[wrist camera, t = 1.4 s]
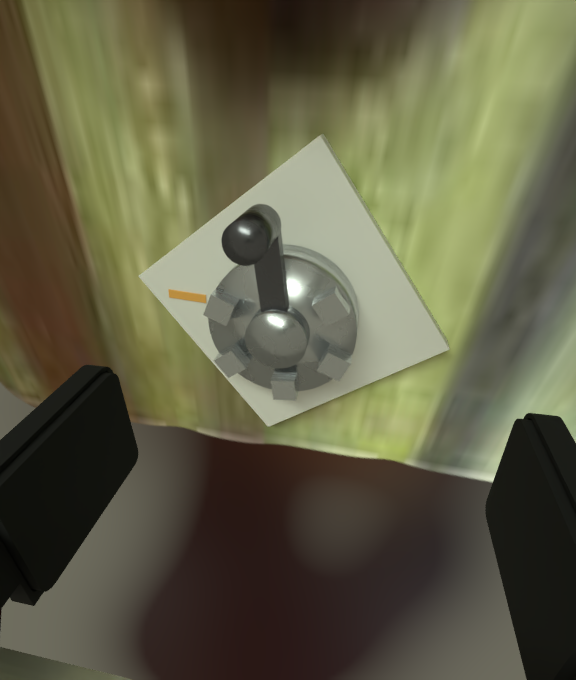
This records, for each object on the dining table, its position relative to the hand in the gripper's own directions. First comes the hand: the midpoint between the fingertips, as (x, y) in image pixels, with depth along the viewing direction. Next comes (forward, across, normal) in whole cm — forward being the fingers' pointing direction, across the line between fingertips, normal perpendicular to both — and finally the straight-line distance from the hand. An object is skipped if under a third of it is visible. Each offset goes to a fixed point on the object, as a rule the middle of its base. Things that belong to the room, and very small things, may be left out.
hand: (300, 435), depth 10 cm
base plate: (+23, +4, +8) cm, 24 cm away
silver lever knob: (+21, +5, +6) cm, 22 cm away
